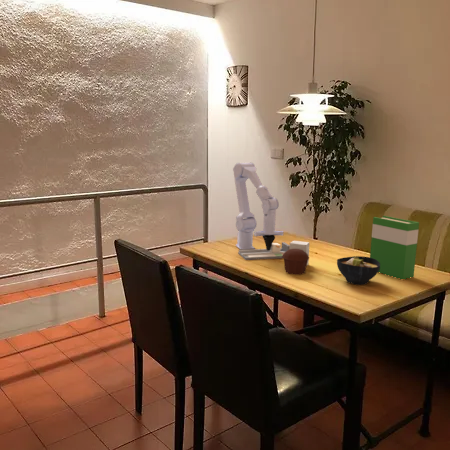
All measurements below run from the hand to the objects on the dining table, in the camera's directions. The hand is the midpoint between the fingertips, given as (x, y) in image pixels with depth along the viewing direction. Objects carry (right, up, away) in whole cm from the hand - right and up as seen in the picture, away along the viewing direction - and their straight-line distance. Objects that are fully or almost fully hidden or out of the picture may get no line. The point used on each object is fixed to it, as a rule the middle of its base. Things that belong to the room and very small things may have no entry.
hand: (268, 249), depth 236 cm
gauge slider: (+4, -1, 0) cm, 4 cm away
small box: (+13, -6, -16) cm, 21 cm away
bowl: (+33, -11, -39) cm, 52 cm away
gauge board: (-2, -3, -1) cm, 3 cm away
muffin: (+9, -8, -27) cm, 30 cm away
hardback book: (+51, -9, -26) cm, 58 cm away
